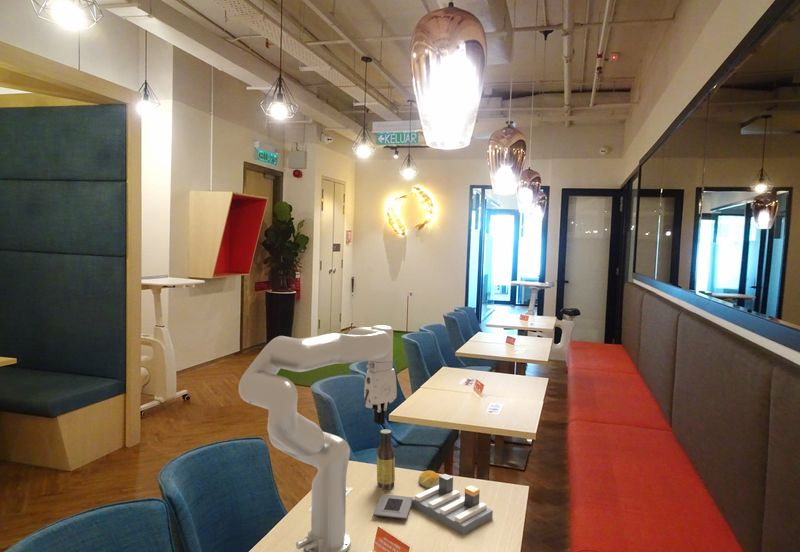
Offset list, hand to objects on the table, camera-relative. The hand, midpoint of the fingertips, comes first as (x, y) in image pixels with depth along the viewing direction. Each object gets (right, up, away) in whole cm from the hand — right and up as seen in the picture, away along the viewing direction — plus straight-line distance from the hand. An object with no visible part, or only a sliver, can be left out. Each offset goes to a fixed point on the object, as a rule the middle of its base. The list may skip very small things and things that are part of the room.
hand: (379, 423), depth 165 cm
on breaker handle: (+22, -26, +10) cm, 35 cm away
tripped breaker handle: (+29, -27, +2) cm, 40 cm away
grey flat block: (+4, -30, +4) cm, 30 cm away
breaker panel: (+23, -29, +3) cm, 37 cm away
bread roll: (+18, -28, +23) cm, 41 cm away
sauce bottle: (+1, -28, +20) cm, 35 cm away
